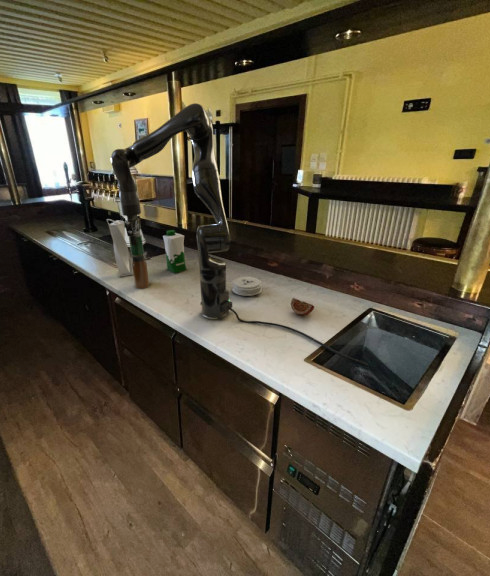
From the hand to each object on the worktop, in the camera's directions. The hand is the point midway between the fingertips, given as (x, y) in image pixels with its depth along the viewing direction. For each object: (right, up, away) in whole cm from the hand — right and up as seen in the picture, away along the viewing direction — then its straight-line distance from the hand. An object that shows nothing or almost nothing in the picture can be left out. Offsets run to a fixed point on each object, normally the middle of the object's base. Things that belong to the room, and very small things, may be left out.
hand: (136, 242), depth 130 cm
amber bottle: (+1, -19, +9) cm, 20 cm away
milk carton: (+15, -10, +25) cm, 31 cm away
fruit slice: (+65, -29, -20) cm, 74 cm away
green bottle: (0, -5, +2) cm, 5 cm away
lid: (+48, -21, -1) cm, 52 cm away
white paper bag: (-11, -12, +23) cm, 29 cm away
